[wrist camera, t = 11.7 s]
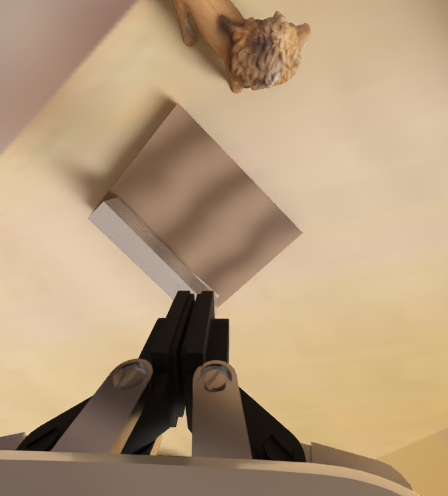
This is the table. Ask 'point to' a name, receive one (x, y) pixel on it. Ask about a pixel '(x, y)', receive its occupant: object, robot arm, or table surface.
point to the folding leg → (146, 249)
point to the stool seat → (203, 206)
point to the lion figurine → (246, 42)
